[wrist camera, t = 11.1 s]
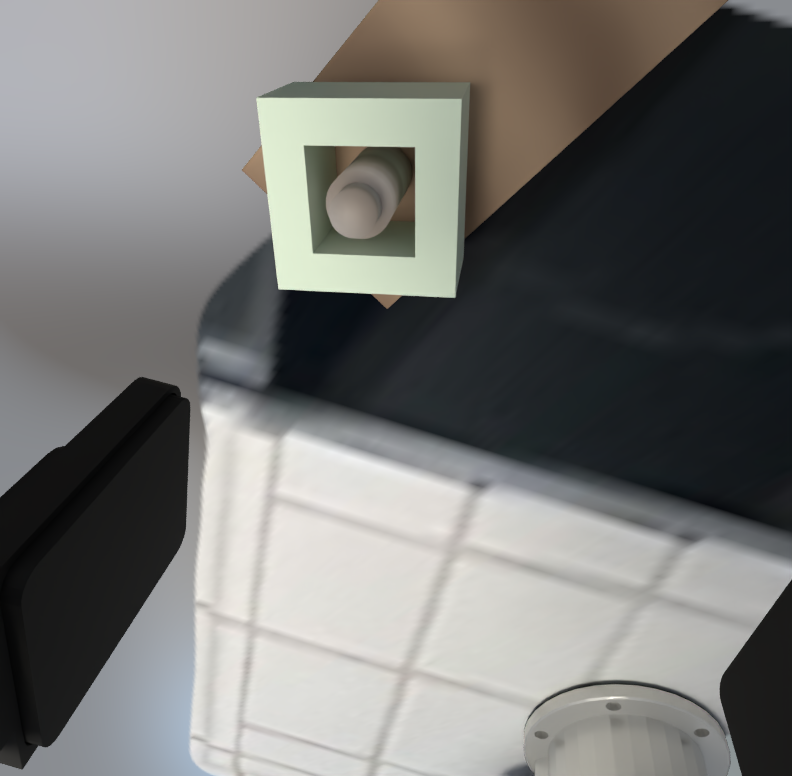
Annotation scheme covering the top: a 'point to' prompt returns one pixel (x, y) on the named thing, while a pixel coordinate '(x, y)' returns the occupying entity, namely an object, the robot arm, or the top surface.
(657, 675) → the top surface
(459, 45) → the board
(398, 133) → the collar
